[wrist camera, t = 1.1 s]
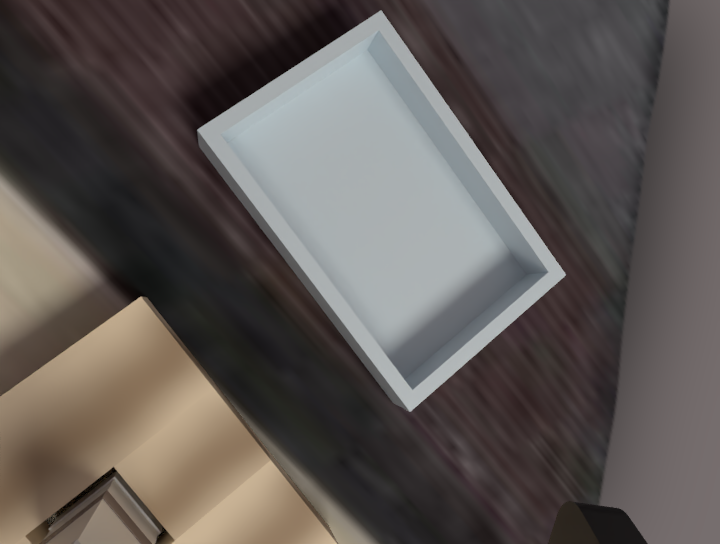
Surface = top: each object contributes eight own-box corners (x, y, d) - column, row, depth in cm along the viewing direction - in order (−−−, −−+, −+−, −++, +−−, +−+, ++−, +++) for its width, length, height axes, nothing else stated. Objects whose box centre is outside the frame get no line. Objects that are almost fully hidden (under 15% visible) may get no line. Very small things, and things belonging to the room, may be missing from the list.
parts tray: (198, 146, 31) (197, 129, 28) (367, 35, 34) (380, 10, 31) (392, 402, 33) (410, 411, 30) (537, 277, 36) (566, 274, 33)
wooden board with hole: (-150, 509, 26) (-188, 529, 24) (146, 297, 30) (140, 296, 28) (73, 757, 28) (60, 800, 25) (329, 527, 32) (338, 545, 29)
